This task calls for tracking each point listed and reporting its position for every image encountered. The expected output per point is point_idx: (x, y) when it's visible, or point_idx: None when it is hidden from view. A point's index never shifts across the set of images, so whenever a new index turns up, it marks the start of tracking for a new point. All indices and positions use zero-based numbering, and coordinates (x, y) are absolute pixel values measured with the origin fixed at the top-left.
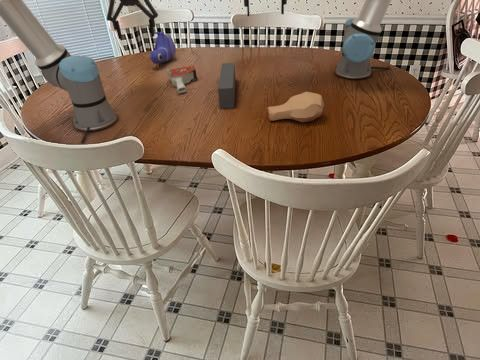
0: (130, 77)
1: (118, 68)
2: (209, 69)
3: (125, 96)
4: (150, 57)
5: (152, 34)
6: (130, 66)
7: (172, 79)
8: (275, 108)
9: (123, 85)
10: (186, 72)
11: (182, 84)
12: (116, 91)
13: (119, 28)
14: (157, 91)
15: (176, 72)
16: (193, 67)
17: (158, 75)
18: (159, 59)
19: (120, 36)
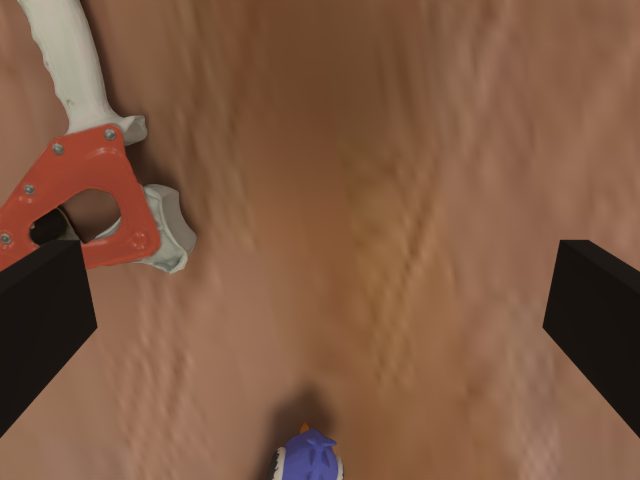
0: (445, 321)
1: (526, 456)
2: None
3: (438, 9)
4: (330, 452)
5: (40, 254)
6: (464, 472)
7: (126, 119)
8: None
9: (472, 205)
10: (31, 184)
11: (37, 28)
12: (506, 111)
13: (634, 385)
14: (240, 63)
15: (118, 221)
16: (2, 260)
17: (285, 324)
18: (280, 447)
19: (572, 270)
